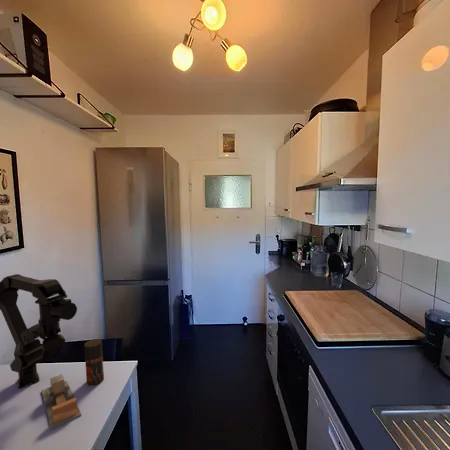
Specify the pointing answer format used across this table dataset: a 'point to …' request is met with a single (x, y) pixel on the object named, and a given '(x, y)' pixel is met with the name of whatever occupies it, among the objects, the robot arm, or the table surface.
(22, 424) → the table surface
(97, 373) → the deodorant
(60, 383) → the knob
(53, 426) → the rail
